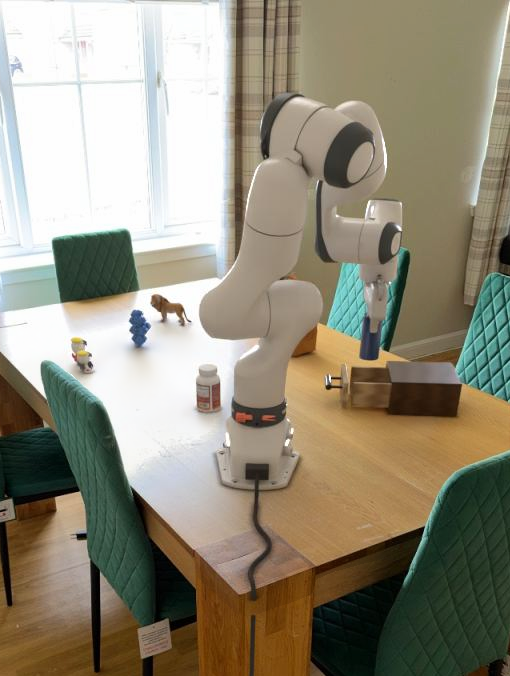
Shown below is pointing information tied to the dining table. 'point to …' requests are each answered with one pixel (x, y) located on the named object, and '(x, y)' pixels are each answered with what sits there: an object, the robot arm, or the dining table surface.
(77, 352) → the toy figures
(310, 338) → the coffee package
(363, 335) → the pepper mill
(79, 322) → the dining table surface
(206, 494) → the dining table surface
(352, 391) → the drawer
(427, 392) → the cabinet
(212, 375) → the pill bottle
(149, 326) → the grapes
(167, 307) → the lion figurine
